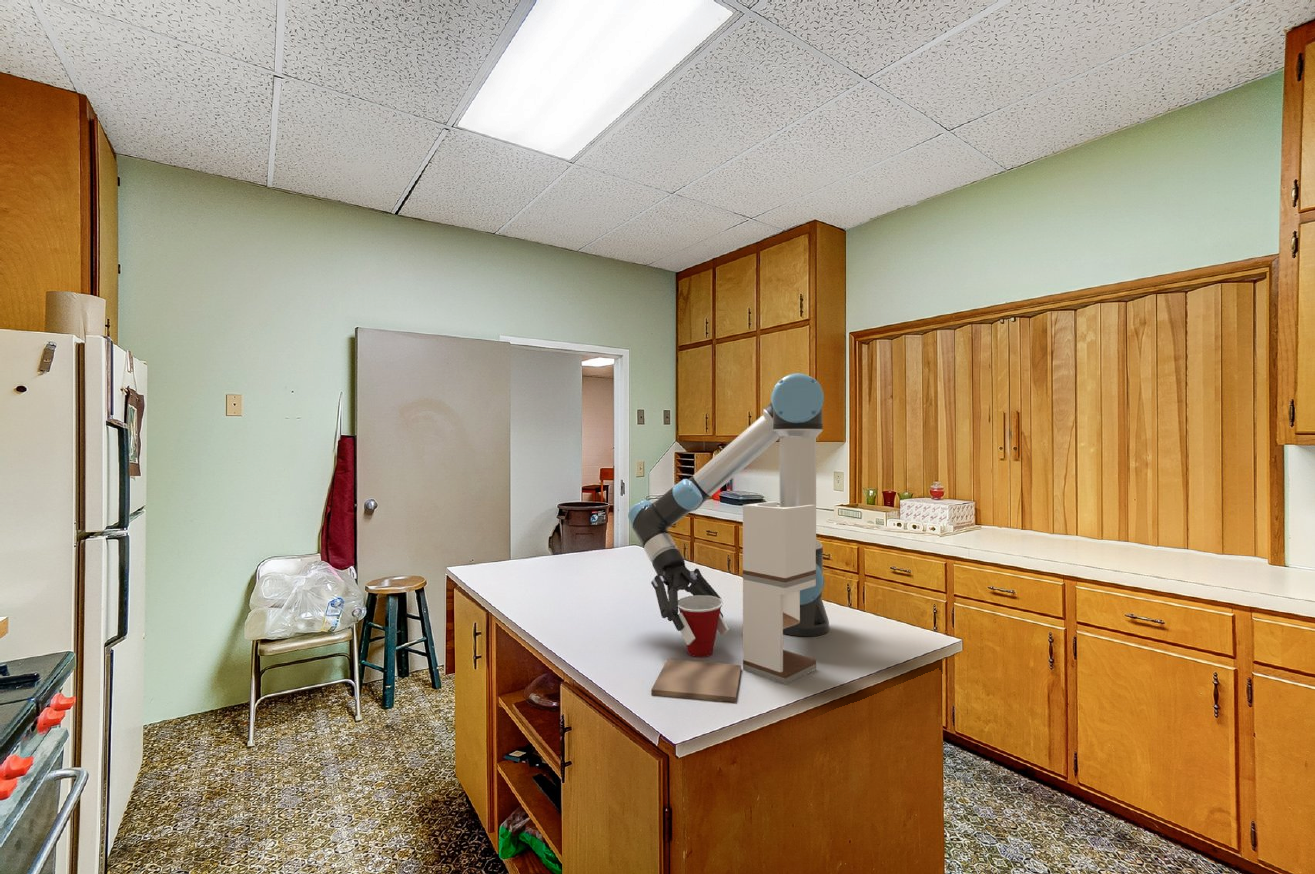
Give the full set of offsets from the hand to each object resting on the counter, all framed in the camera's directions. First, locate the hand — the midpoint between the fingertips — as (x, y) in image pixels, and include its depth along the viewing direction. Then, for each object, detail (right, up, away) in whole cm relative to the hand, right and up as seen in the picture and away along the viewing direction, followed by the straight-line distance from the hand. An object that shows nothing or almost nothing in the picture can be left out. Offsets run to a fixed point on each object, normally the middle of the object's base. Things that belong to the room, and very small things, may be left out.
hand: (708, 637), depth 130 cm
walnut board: (-3, -4, -14) cm, 15 cm away
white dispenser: (+14, -5, -7) cm, 17 cm away
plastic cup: (-2, -5, +2) cm, 6 cm away
